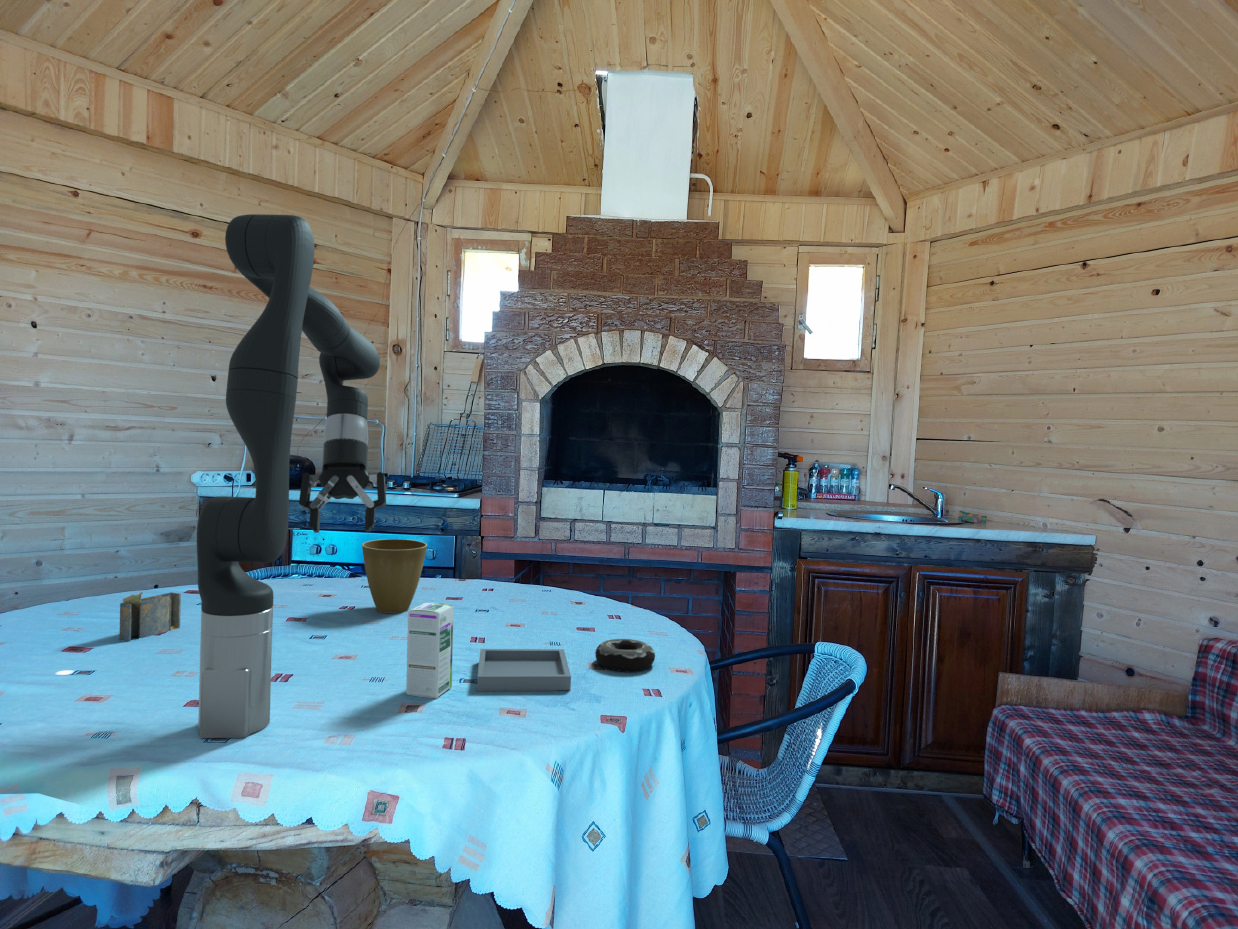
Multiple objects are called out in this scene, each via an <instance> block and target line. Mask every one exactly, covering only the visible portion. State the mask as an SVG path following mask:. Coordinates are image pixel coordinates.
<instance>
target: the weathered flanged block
mask: <svg viewBox="0 0 1238 929" xmlns="http://www.w3.org/2000/svg"><path fill="white" fill-rule="evenodd" d="M142 595H143V592H142V591H141V592H140V593H138V594H137V593H136V594H131V595H129V596H127V597H124V598H122V602H120V603H119V641H123V640H124V641H123V642H132V640H131V639H132V638H135V637H137V636H138V639H139V638H141V639H144V638H148V637H151V636H155V634H156V635H159V634H162V633H161V632H163V633H166V632H170V631H174V630H177V629H181V610H182V609H181V606H182V605H181V602H182V600H181V599H182V594H181V593H180V592H172V591H171V592H167V593H162V594H156V595H151V596H148V597H147V596H146V597H143V598H142ZM158 633H159V634H158Z"/></svg>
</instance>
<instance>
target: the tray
mask: <svg viewBox="0 0 1238 929" xmlns="http://www.w3.org/2000/svg"><path fill="white" fill-rule="evenodd" d="M568 663H569V662H568V660H567V656H566V653H565V649H564V648H557V649H556V648H480V650H479V657H478V667H477V668H478V669H477V677H476V692H514V691H515V692H517V691H518V692H533V691H534V692H539V691H540V692H544V691H547V692H548V691H549V692H551V691H552V692H553V691H554V692H555V691H556V692H559V691H558V690H570V691H571V687H572V686H571V683H572V682H571V680H572V675H571V671H570V666H569V665H568Z"/></svg>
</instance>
